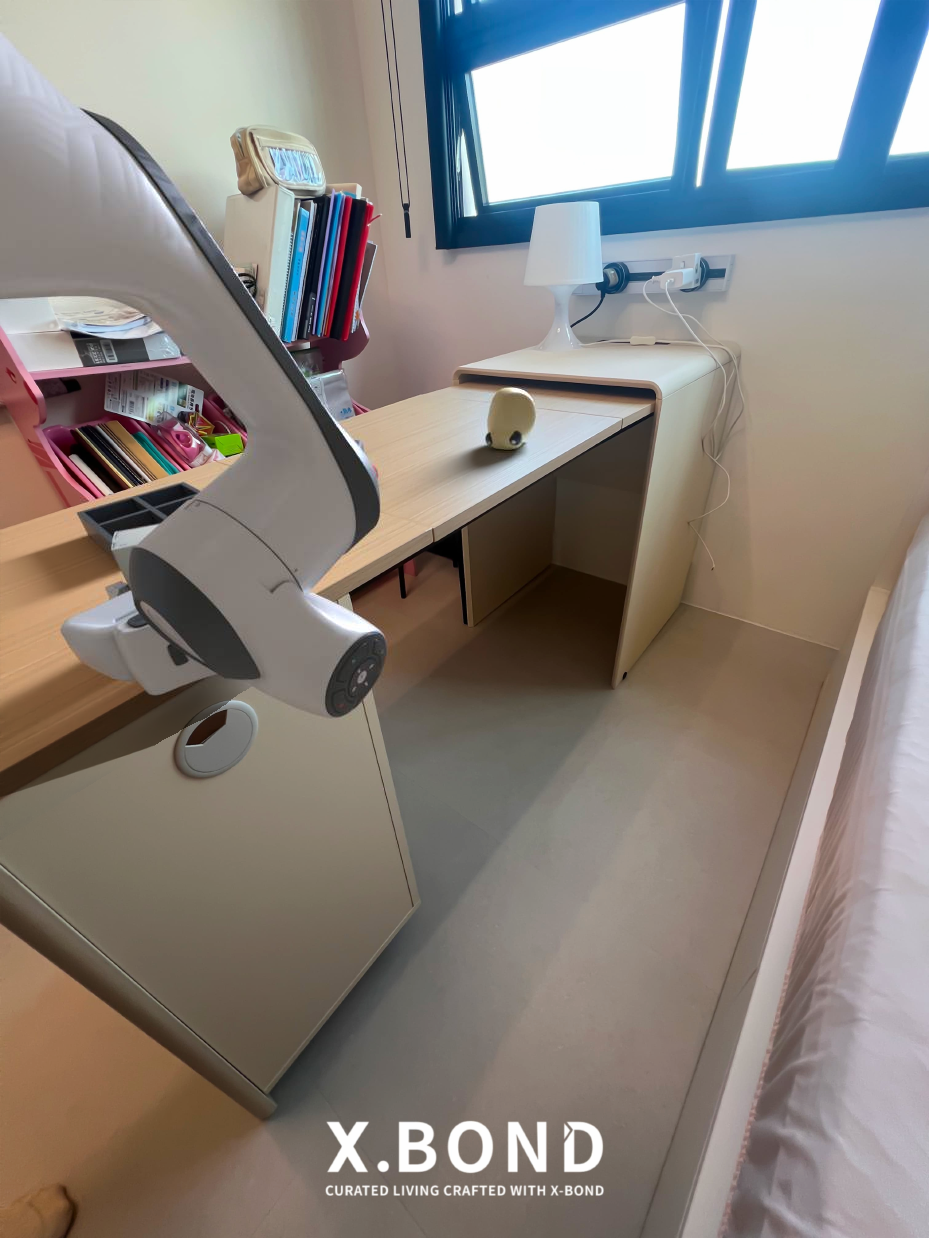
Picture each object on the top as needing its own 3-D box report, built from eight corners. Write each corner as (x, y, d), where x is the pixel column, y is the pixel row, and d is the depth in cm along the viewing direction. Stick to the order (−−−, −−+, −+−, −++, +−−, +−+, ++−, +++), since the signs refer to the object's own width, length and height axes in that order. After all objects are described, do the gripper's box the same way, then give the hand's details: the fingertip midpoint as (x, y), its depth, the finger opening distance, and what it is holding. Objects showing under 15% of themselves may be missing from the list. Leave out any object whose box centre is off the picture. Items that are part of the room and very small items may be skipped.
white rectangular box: (199, 627, 53) (161, 540, 47) (152, 640, 51) (108, 552, 46) (196, 603, 57) (162, 520, 51) (153, 614, 55) (113, 530, 50)
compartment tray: (122, 567, 66) (110, 542, 64) (88, 535, 75) (76, 512, 73) (234, 527, 75) (226, 504, 73) (191, 502, 84) (183, 481, 81)
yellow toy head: (488, 459, 106) (470, 435, 96) (500, 406, 107) (484, 376, 97) (532, 462, 102) (519, 437, 92) (545, 406, 103) (533, 376, 93)
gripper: (314, 536, 50) (229, 509, 56) (97, 646, 36) (20, 594, 43) (326, 590, 53) (246, 559, 60) (134, 709, 40) (58, 651, 46)
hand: (150, 574), depth 51 cm, fingers closed on white rectangular box, 6 cm apart
